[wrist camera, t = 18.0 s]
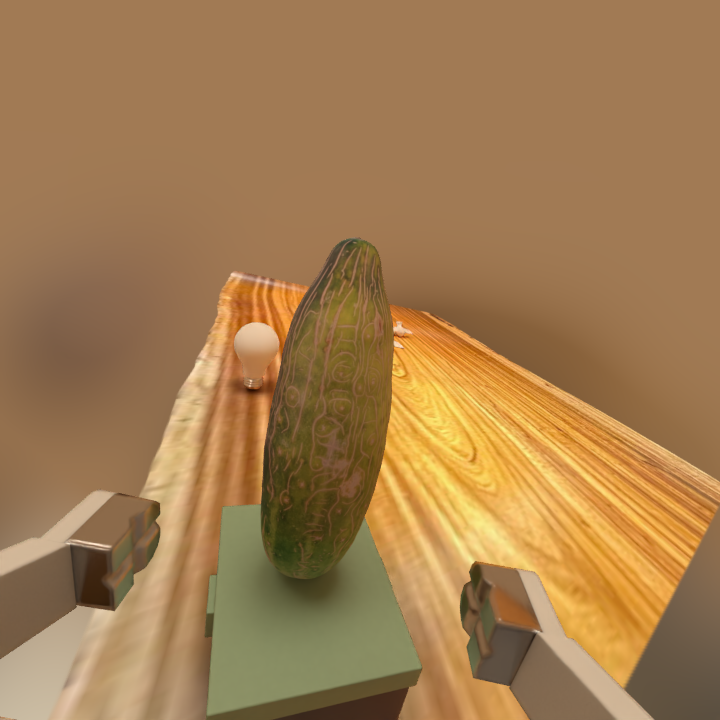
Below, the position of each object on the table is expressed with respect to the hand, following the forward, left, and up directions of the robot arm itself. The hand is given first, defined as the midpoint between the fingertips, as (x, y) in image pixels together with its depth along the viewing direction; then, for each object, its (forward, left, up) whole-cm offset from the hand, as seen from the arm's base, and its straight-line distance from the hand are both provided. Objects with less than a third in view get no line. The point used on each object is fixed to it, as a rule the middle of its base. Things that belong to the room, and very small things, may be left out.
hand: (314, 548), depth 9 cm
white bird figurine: (+88, -43, -19) cm, 100 cm away
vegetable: (+9, -3, -13) cm, 16 cm away
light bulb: (+48, -1, -19) cm, 52 cm away
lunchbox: (+9, -3, -19) cm, 21 cm away
